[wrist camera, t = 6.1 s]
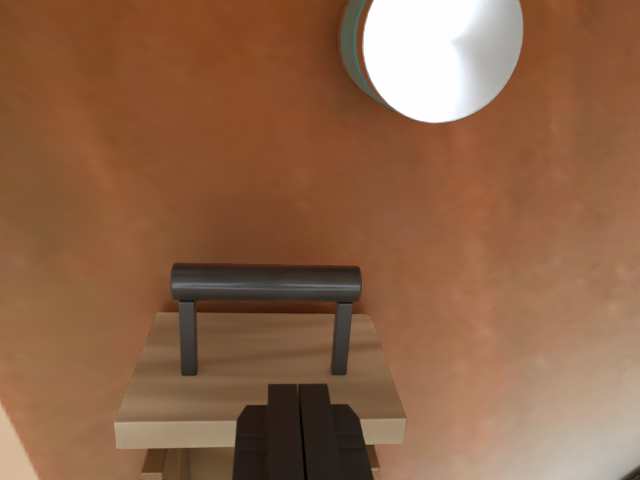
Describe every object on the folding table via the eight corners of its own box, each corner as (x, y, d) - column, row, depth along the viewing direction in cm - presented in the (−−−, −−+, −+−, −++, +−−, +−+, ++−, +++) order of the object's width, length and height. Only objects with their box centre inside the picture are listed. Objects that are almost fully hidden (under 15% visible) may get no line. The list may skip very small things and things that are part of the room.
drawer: (151, 219, 24) (101, 301, 17) (379, 225, 25) (424, 304, 18) (168, 520, 31) (137, 672, 23) (348, 514, 32) (372, 658, 24)
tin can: (340, -37, 22) (369, -62, 16) (466, -27, 22) (541, -47, 16) (331, 97, 24) (353, 122, 18) (447, 103, 24) (508, 129, 18)
